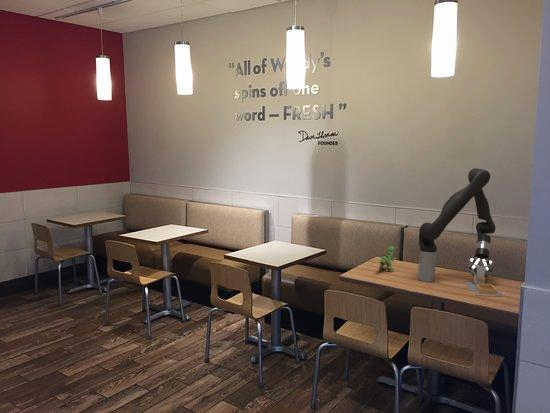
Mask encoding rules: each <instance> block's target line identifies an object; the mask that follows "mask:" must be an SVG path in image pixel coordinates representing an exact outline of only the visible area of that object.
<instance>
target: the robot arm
mask: <svg viewBox="0 0 550 413" xmlns="http://www.w3.org/2000/svg"><path fill="white" fill-rule="evenodd" d="M467 177H468V178H467V179H468V182H469V183H468V184H467V185H466V186H465V187H463V188H461V189H460V190H458V191H456V192H455V193H453V194H452V195H451V196H450V197H449V198H448V199H447V200H446V202H445V203H444V204H443V206H442V208H441V212H440V214H439V215H438V216H437V217H436V219H435V220H434V221H433V222H424V223H422V224H421V226H420V228H419V231H418V232H419V233H418V245H419V258H418V260H419V261H418V264H417V265H418V266H417V279H418V281H421V282H422V281H423V282H428V283H429V282H435V280H436V269H437V268H436V266H437V251H438V250H437V245H436V244H435V243H436V242H435V241H436V240H438V238H439V237H440V235H441V234H442V233H443V232H444V231H445V229H446V228H447V226H448V225H449V224H450V223H451V221H452V220H453V219H454V218H455V217H456V216H457V215H458V214H459V213H460V212H461V211H463V209H464V208H465V206H466V205H467V204H468V203H469V202H470V201H471V200H472V199H473V198H474V202H475V207H476V215H477V218H478V219H480V220H483V221H480V222H477V223H476V224H475V230H476V233H477V240H476V245H475V251H474V252H475V253H474V257H473V258H471V257H468V258H467V260H468V269H469V270H471V276H472V277H474V272H475V264H482V265H485V266H486V271H485V279H487V277H488V276H489V273H491V272H493V270H494V267H495V261H494V260H490V253H491V240H492V238H491V234H494V233H495V232H496V229H497V228H496V224H495V222H494V220H493V218H492V215H491V211H490V204H489V201H488V198H487V197H486V195H485V193H484V190H483V188H484V187H485V186H487V184H488V183H490V182H489V181H490V180H491V173H490V172H489V171H488V170H486V169H481V168H472V169H470V171H469V172H468V175H467ZM472 263H474V264H473V265H472ZM488 265H490V267H488Z"/></svg>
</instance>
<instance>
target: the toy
mask: <svg viewBox="0 0 550 413" xmlns="http://www.w3.org/2000/svg"><path fill="white" fill-rule="evenodd" d="M387 251H388V253H386V254H384V255H382V256H381V258H380V259H379V260H378V263H379V266H378V269H379V271H382V270H386V269H385V268H386V267H384V266H387V270H388V273H394V272H395V269H392V262H395V260H397V257H396V256H395V257H393V254H394V252H395V246H393V245H388V248H387Z"/></svg>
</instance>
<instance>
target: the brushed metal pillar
mask: <svg viewBox="0 0 550 413" xmlns="http://www.w3.org/2000/svg"><path fill="white" fill-rule="evenodd" d="M485 271H486V266H485V265H482V264H475V272H474V276H473V282H475V283H476V284H484V283H486V282H485V281H486V278H485Z"/></svg>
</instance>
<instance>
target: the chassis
mask: <svg viewBox="0 0 550 413" xmlns="http://www.w3.org/2000/svg"><path fill="white" fill-rule="evenodd" d="M464 283H465V284H466V286H467V287H468V288H469V289H470V290H471V292H473V293H474V295H475V297H480V295H481V296H486V297H493V298H495V297H496V298H501V296H503V294H502V292H501V291H499V290H498V289H497V287H496V286H494V285H493V284H492V283H490V282H484V284H476V283H475V282H474V281H472V282H471V281H469V282H468V281H464Z"/></svg>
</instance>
